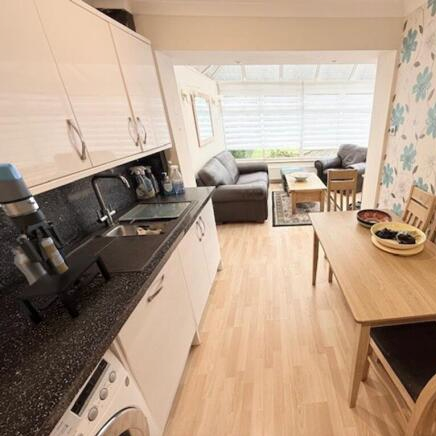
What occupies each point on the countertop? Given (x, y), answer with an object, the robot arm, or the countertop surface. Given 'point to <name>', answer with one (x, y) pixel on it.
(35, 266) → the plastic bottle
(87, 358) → the countertop surface
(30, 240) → the robot arm
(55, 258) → the sprinkles bottle
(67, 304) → the stand
